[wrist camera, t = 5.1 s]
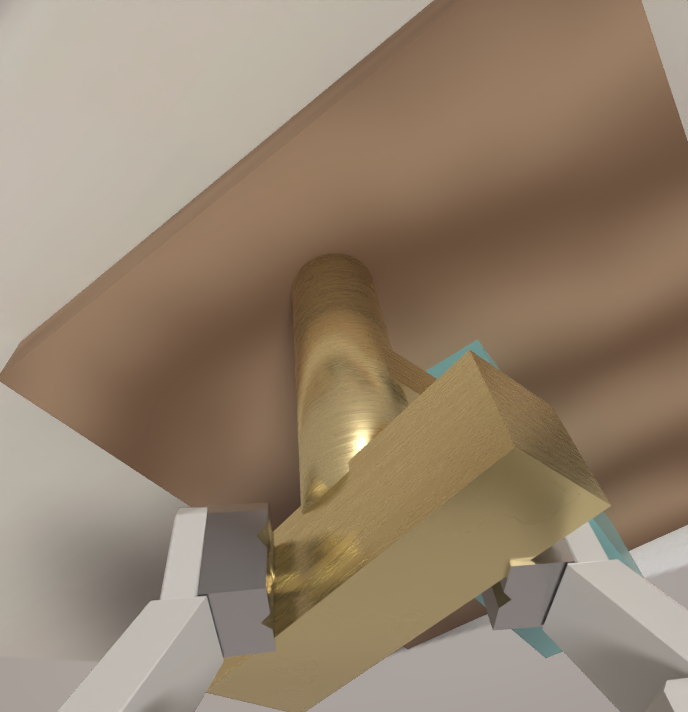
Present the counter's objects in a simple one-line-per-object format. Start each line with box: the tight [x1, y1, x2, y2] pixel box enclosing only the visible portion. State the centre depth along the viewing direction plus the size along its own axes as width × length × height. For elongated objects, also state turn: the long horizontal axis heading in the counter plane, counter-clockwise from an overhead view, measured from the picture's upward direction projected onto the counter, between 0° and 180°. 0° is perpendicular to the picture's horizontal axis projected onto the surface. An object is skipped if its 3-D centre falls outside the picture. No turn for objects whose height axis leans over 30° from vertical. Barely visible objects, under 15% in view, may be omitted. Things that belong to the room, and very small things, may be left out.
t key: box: [206, 253, 611, 712], centre depth 14 cm, size 8×7×10 cm
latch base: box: [0, 0, 688, 649], centre depth 22 cm, size 24×20×2 cm
